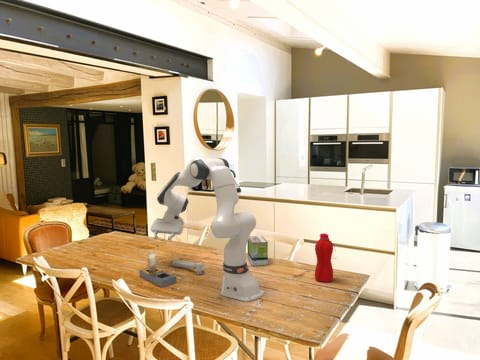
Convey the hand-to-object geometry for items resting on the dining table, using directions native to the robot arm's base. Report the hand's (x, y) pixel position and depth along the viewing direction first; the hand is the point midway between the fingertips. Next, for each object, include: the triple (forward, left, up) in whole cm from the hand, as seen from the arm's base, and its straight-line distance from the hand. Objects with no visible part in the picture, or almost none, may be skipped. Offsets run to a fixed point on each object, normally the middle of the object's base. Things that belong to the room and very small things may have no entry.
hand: (162, 239), depth 212 cm
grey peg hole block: (-10, +11, -18) cm, 24 cm away
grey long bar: (-11, -10, -19) cm, 24 cm away
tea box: (-31, -48, -19) cm, 60 cm away
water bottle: (-77, -52, -19) cm, 95 cm away
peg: (-5, +10, -18) cm, 22 cm away
